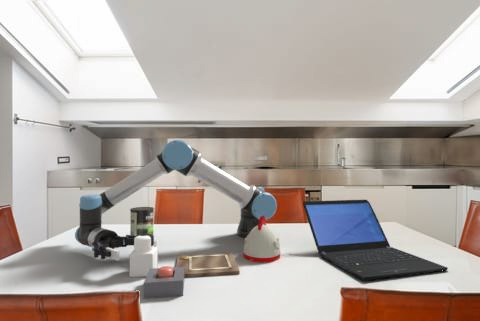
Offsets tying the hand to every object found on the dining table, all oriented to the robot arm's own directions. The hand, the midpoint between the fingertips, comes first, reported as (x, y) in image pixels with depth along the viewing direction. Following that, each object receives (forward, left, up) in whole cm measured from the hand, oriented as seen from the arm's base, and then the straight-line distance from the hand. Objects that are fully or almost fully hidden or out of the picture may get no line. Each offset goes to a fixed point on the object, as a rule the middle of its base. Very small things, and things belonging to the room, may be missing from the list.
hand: (138, 250), depth 91 cm
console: (-10, +14, -7) cm, 19 cm away
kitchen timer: (-43, -9, -7) cm, 45 cm away
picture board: (-22, -2, -7) cm, 23 cm away
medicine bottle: (-2, +1, -7) cm, 7 cm away
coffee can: (+6, -41, -7) cm, 42 cm away
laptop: (-81, -1, -7) cm, 81 cm away
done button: (-10, +14, -4) cm, 18 cm away
